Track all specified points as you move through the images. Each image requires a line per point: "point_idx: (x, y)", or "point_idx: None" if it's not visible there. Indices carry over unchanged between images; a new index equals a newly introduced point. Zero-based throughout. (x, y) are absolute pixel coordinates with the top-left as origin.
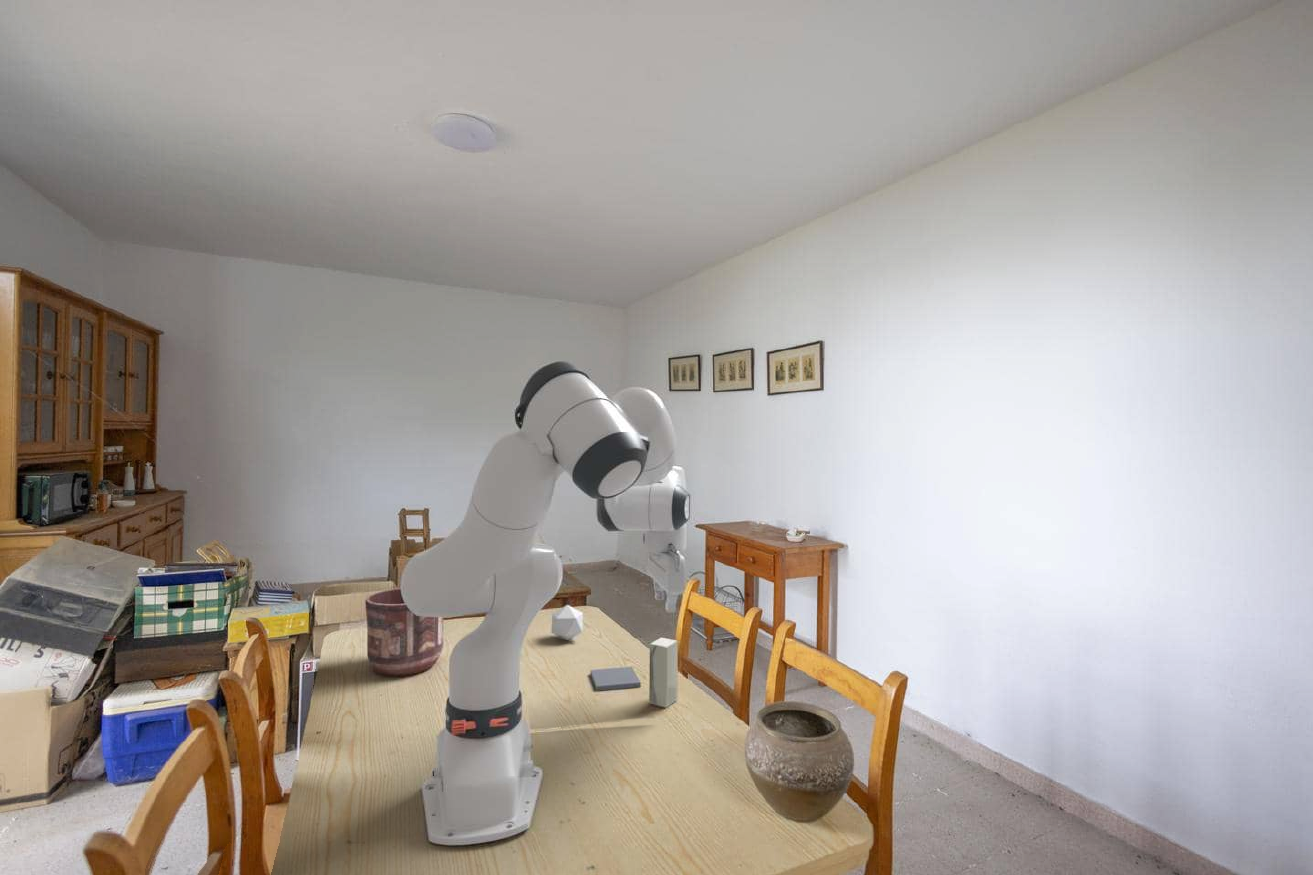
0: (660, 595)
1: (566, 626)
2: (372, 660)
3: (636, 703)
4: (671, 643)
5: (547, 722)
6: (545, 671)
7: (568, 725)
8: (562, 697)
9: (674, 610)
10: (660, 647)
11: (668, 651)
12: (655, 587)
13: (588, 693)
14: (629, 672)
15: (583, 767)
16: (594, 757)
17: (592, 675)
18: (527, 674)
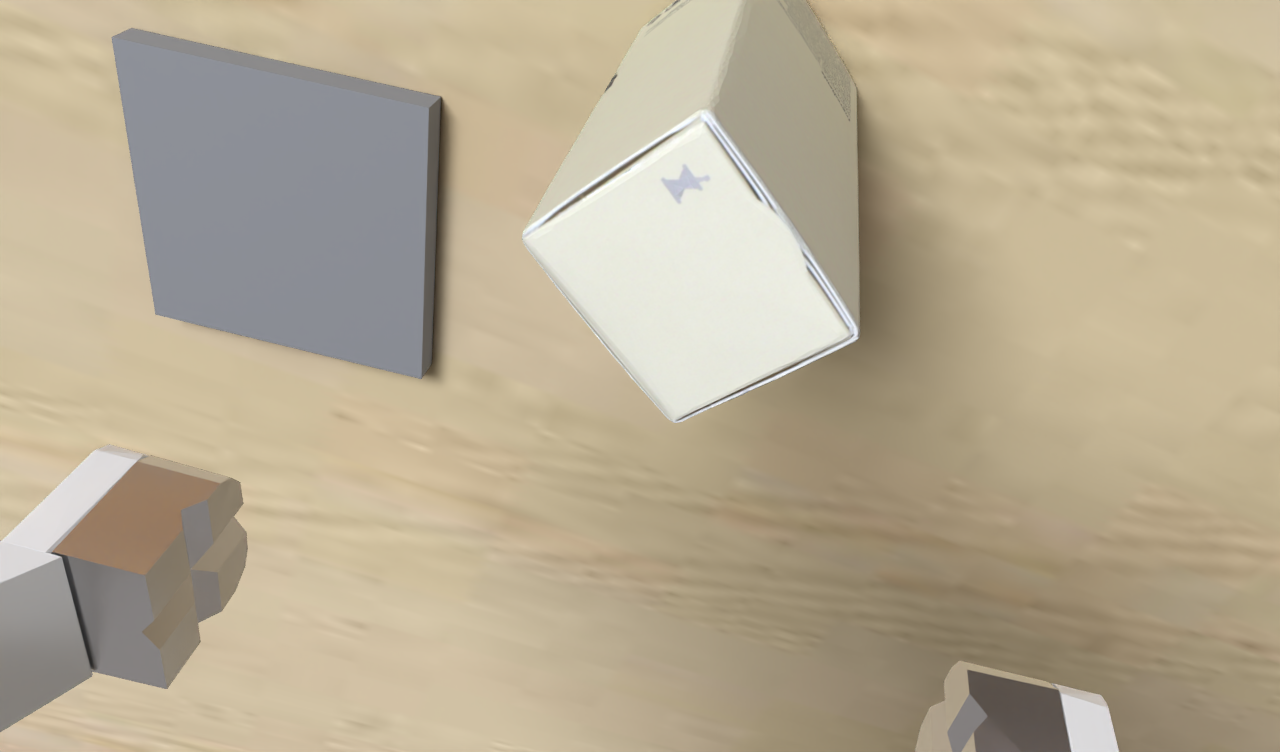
0: (184, 581)
1: None
2: None
3: None
4: (773, 231)
5: (720, 657)
6: None
7: (793, 608)
8: (468, 525)
9: (1096, 719)
10: (799, 365)
11: (845, 273)
12: (1, 725)
13: (454, 410)
14: (227, 102)
15: (1214, 696)
16: (1165, 638)
17: (245, 335)
18: None
